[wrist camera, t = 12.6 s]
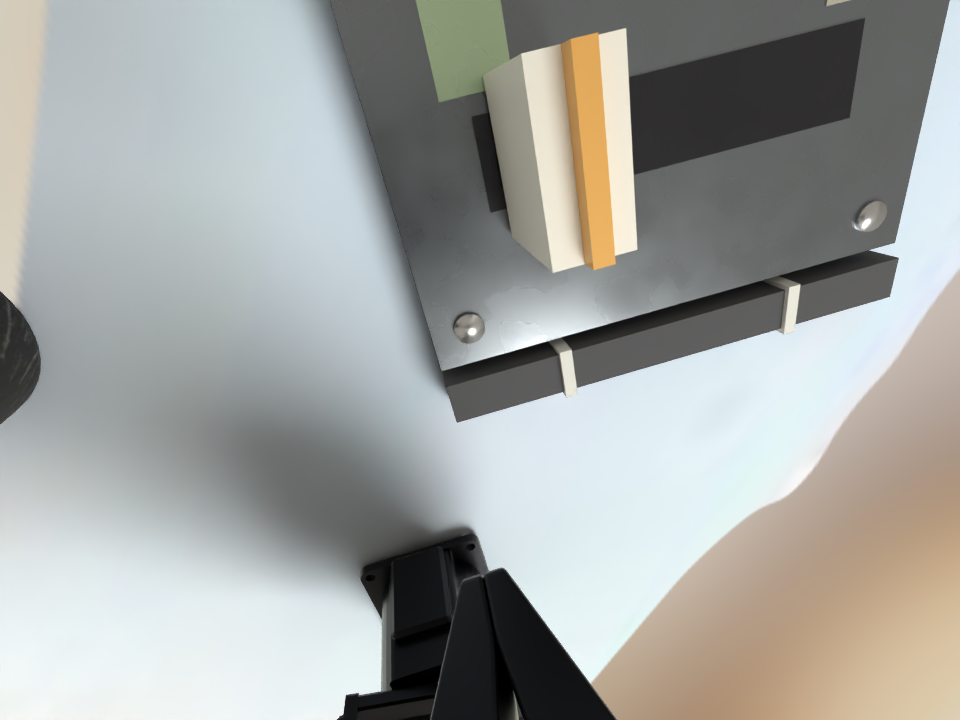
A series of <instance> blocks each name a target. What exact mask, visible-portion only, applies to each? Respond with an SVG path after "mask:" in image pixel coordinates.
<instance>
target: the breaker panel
mask: <svg viewBox="0 0 960 720" xmlns="http://www.w3.org/2000/svg"><path fill="white" fill-rule="evenodd" d="M949 1H950V0H330V2H331V6H332V9H333V12H334V16H335V19H336V22H337V26H338V29H339V32H340V35H341V39H342V42H343V45H344V49H345V52H346V55H347V59H348V62H349V65H350V69H351V72H352V75H353V79H354V82H355V85H356V89H357V92H358V95H359V99H360V102H361V105H362V109H363V112H364V115H365V118H366V122H367V125H368V128H369V132H370V135H371V138H372V142H373V145H374V148H375V152H376V155H377V158H378V162H379V165H380V168H381V172H382V175H383V178H384V182H385V185H386V188H387V192H388V195H389V198H390V201H391V205H392V208H393V211H394V215H395V218H396V221H397V225H398V228H399V231H400V235H401V238H402V241H403V245H404V248H405V251H406V255H407V258H408V261H409V265H410V268H411V271H412V275H413V278H414V281H415V284H416V288H417V291H418V294H419V298H420V301H421V304H422V308H423V311H424V314H425V318H426V321H427V324H428V328H429V331H430V334H431V338H432V341H433V344H434V348H435V351H436V354H437V357H438V361H439V364H440V367H441V371H444V370H448V369H451V368H455V367H458V366H462V365H465V364H469V363H472V362H476V361H479V360H483V359H486V358H490V357H494V356H497V355H501V354H504V353H508V352H511V351H515V350H518V349H522V348H525V347H529V346H532V345H536V344H539V343H543V342H546V341H550V340H554V339H557V338H561V337H564V336H568V335H571V334H575V333H578V332H582V331H585V330H589V329H592V328H596V327H599V326H603V325H606V324H610V323H613V322H617V321H621V320H624V319H628V318H631V317H635V316H638V315H642V314H645V313H649V312H652V311H656V310H659V309H663V308H666V307H670V306H673V305H677V304H680V303H684V302H688V301H691V300H695V299H698V298H702V297H705V296H709V295H712V294H716V293H719V292H723V291H726V290H730V289H733V288H737V287H740V286H744V285H748V284H751V283H755V282H758V281H762V280H765V279H769V278H772V277H776V276H779V275H783V274H786V273H790V272H793V271H797V270H800V269H804V268H807V267H811V266H815V265H818V264H822V263H825V262H829V261H832V260H836V259H839V258H843V257H846V256H850V255H853V254H857V253H860V252H864V251H867V250H871V249H874V248H878V247H882V246H885V245H889V244H892V243H895V240H896V236H897V232H898V227H899V223H900V218H901V214H902V209H903V205H904V201H905V196H906V192H907V187H908V183H909V178H910V174H911V169H912V165H913V161H914V156H915V152H916V147H917V143H918V138H919V134H920V130H921V125H922V121H923V116H924V112H925V107H926V103H927V98H928V94H929V90H930V85H931V81H932V76H933V72H934V67H935V63H936V59H937V54H938V50H939V45H940V41H941V36H942V32H943V27H944V23H945V19H946V14H947V10H948V5H949ZM624 28H626V36H627V55H628V75H629V95H630V114H631V134H632V154H633V174H634V193H635V213H636V233H637V250H635V251H631V252H627V253H624V254H620V255H617V256H615V261H616V264H615V265H611V266H607V267H604V268H600V269H596V270H593V269H591V268H590V267H588V266H587V265H585V264H584V265H580V266H577V267H573V268H569V269H566V270H562V271H558V272H555V273H552V272H551V271H550V270H549V269H548V268H547V267H546V266H544V265H543V264H542V263H541V262H540V261H539V260H537V259H536V258H535V257H534V256H533V255H532V254H530V253H529V252H528V251H527V250H526V249H525V248H524V247H522V246H521V245H520V244H519V243H518V242H517V241H515V240H514V239H513V238H512V233H511V227H510V222H509V216H508V211H507V205H506V200H505V195H504V189H503V184H502V178H501V173H500V167H499V162H498V156H497V151H496V145H495V140H494V134H493V129H492V124H491V118H490V113H489V107H488V102H487V96H486V91H485V85H484V80H483V75H485V74H486V73H488V72H490V71H492V70H493V69H495V68H497V67H499V66H500V65H502V64H504V63H506V62H507V61H509V60H511V59H513V58H514V57H516V56H518V55H520V54H522V53H526V52H530V51H534V50H538V49H542V48H546V47H550V46H554V45H558V44H562V43H564V42H566V41H568V40H570V39H573V38H577V37H581V36H585V35H589V34H593V33H597V32H598V35H599V34H603V33H607V32H612V31H616V30H620V29H624Z"/></svg>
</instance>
